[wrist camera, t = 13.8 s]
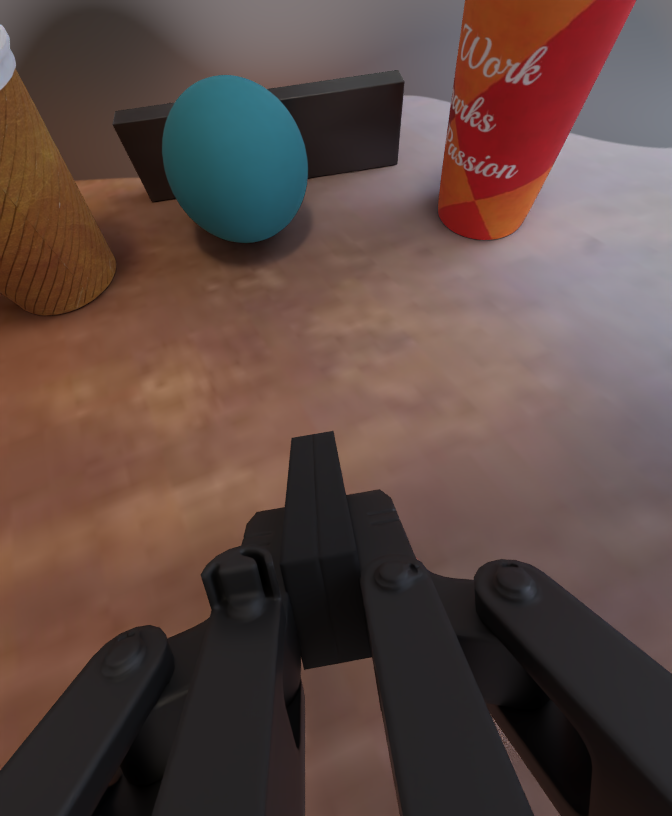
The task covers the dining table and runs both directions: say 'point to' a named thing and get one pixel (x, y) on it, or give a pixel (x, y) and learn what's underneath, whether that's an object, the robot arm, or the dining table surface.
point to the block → (315, 117)
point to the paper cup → (517, 103)
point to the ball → (234, 159)
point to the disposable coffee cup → (42, 212)
